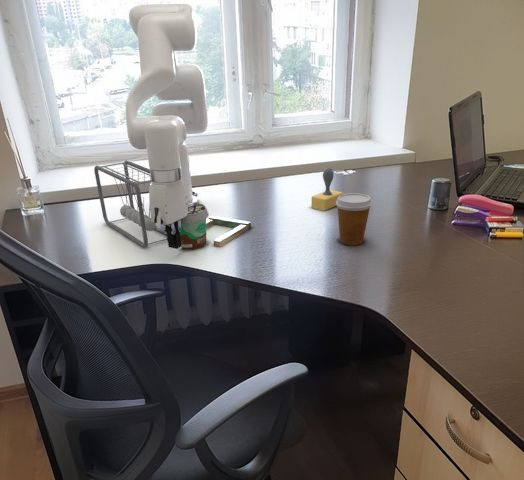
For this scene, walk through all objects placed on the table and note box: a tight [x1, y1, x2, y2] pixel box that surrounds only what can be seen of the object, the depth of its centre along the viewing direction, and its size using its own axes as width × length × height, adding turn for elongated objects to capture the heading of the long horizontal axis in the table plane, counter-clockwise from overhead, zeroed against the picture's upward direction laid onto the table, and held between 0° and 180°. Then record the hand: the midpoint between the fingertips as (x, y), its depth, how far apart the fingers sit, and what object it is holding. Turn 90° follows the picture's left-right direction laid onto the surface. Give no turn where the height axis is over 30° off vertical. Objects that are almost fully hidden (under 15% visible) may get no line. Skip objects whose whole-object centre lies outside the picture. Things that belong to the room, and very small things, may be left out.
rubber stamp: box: [311, 167, 344, 212], centre depth 170 cm, size 10×6×12 cm, turn 137°
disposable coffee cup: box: [336, 192, 373, 246], centre depth 142 cm, size 10×10×12 cm
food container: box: [180, 202, 209, 251], centre depth 144 cm, size 12×6×10 cm, turn 163°
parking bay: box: [206, 215, 252, 248], centre depth 154 cm, size 14×17×2 cm
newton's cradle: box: [93, 160, 167, 248], centre depth 153 cm, size 30×10×18 cm, turn 36°
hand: (175, 247), depth 138 cm, fingers closed
